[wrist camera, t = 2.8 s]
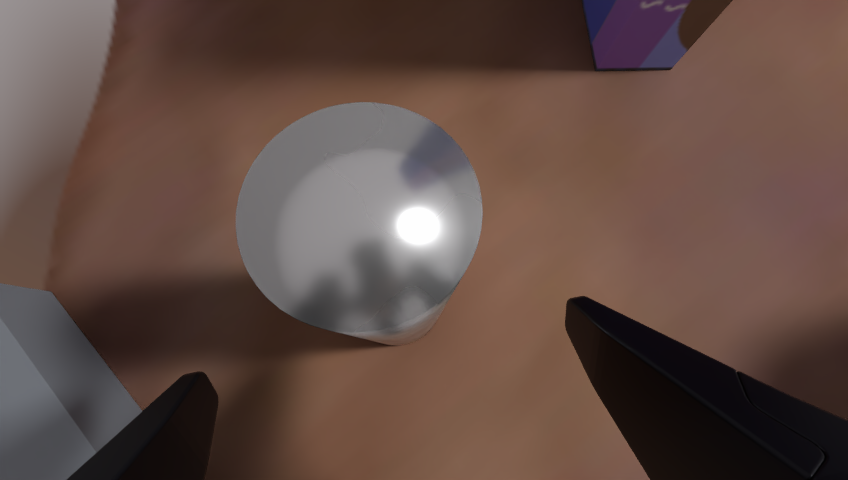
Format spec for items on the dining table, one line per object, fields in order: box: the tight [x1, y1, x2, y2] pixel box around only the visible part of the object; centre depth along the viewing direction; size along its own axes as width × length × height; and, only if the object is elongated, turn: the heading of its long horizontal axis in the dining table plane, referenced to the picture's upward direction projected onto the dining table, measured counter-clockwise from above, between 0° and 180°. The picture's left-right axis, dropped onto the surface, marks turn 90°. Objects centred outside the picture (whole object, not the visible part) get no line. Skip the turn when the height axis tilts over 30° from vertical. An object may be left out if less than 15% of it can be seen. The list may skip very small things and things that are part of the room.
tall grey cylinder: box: [236, 102, 482, 346], centre depth 13 cm, size 4×4×13 cm
